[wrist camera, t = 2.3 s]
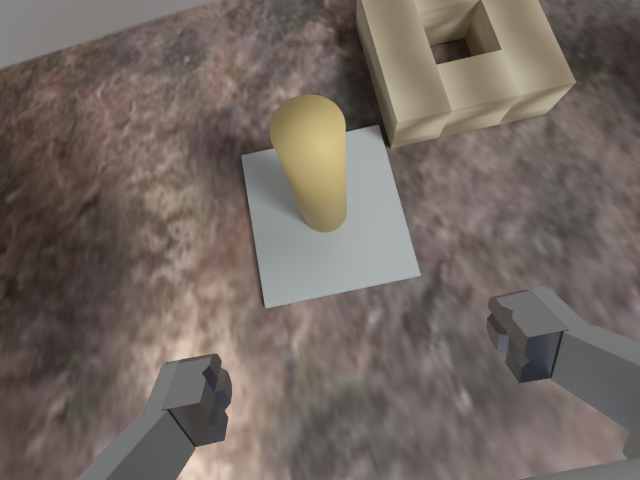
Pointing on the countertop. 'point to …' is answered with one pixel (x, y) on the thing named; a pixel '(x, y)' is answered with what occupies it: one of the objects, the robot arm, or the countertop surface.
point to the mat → (336, 246)
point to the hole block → (459, 65)
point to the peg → (313, 157)
